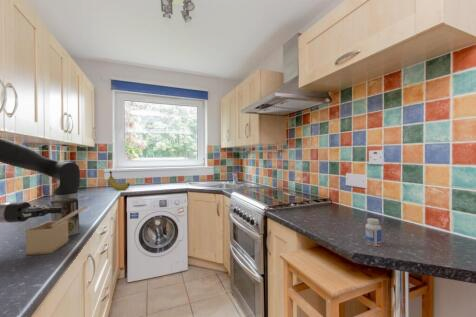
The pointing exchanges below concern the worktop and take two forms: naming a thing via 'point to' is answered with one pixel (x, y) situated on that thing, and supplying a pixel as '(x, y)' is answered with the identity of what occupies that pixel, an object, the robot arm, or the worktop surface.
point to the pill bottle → (373, 232)
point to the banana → (115, 184)
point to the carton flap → (68, 216)
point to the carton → (46, 238)
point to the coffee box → (68, 208)
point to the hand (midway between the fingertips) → (62, 209)
